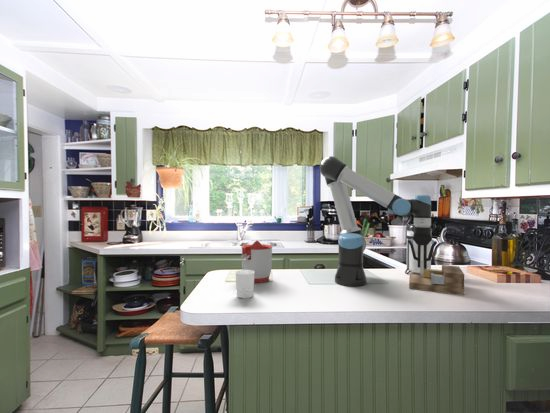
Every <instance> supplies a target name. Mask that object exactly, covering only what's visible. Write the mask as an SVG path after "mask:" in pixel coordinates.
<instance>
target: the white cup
mask: <svg viewBox="0 0 550 413" xmlns="http://www.w3.org/2000/svg"><path fill="white" fill-rule="evenodd" d="M254 273H255V272H254V271H253V270H242V269H239V270H236V271H235V285H236V286H235V287H236V297H238V298H239V299H250V298H252V297H254V288H255V282H254Z"/></svg>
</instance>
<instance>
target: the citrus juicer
mask: <svg viewBox="0 0 550 413" xmlns="http://www.w3.org/2000/svg"><path fill="white" fill-rule="evenodd" d="M240 259H241V270H253V271H254V272H255V273H254V284H259V283H263V282H264V283H265V282H267V281H268V280H269V279H270V276H271V273H272V272H271V271H272V268H273V246H272V245H270V244H262V243H261V242H260V241H259V240H255V241H254V242H253V243H252V244H245V245H242V246H241V256H240Z"/></svg>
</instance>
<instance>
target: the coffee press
mask: <svg viewBox="0 0 550 413" xmlns="http://www.w3.org/2000/svg"><path fill="white" fill-rule="evenodd" d="M414 227H415V226H414V223H412V224H408V225H407V227H406V229H405V231H406V238H405V239H406V269H405V271H404V273H405V274H406V275H410V274H411V273H414V274H416V273H417V274H420V268H419V267H418V261H417V260H415V259H414V258H413V254H412V250H411V246H410V244H409V243H408V240H410V239H412V238H413V236H414ZM430 228H431V233H432V232H433V229H432V227H431V226H430ZM431 237H432V235H431ZM432 238H433V237H432ZM431 245H432V244H431V242H430V243H429V244H428V245H427V252H426V258H428V256H429V252H430V249H431ZM413 246H414V250H415V254H416V257H418V245H417V244H416V243H415V241H414V240H413ZM420 261H424V246H423V245H421V256H420ZM426 269H432V259H431V260H430V261H427V262H426Z"/></svg>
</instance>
